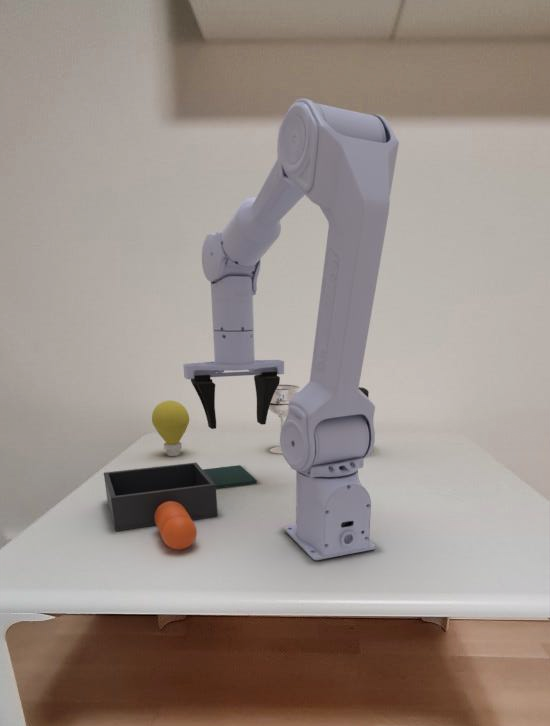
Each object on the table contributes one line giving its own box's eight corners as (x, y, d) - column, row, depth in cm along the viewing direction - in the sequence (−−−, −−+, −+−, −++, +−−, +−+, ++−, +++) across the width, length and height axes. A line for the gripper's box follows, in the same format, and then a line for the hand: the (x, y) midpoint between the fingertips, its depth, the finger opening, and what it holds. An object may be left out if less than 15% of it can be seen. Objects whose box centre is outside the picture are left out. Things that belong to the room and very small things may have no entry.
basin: (217, 516, 73) (215, 484, 72) (115, 531, 68) (110, 497, 67) (198, 490, 83) (196, 462, 81) (107, 502, 78) (103, 472, 76)
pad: (257, 483, 86) (257, 480, 86) (194, 491, 82) (194, 488, 82) (240, 467, 94) (240, 465, 94) (182, 474, 90) (182, 471, 90)
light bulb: (164, 448, 105) (160, 397, 102) (197, 450, 104) (193, 398, 101) (148, 458, 99) (143, 403, 96) (183, 460, 98) (179, 404, 94)
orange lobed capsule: (201, 551, 63) (199, 520, 61) (166, 557, 61) (163, 525, 60) (184, 523, 71) (182, 494, 69) (153, 528, 69) (150, 499, 68)
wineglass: (294, 456, 101) (294, 390, 97) (260, 453, 103) (258, 389, 98) (304, 447, 107) (304, 385, 103) (271, 444, 109) (270, 383, 104)
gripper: (272, 328, 83) (273, 416, 88) (176, 329, 78) (183, 423, 82) (289, 330, 77) (289, 425, 81) (186, 332, 71) (193, 433, 76)
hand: (237, 425), depth 81 cm, fingers open, 7 cm apart
